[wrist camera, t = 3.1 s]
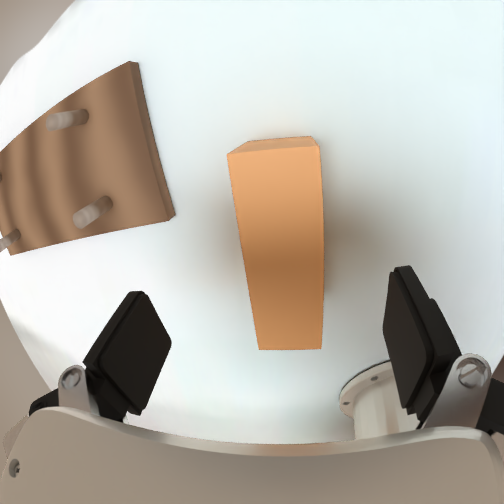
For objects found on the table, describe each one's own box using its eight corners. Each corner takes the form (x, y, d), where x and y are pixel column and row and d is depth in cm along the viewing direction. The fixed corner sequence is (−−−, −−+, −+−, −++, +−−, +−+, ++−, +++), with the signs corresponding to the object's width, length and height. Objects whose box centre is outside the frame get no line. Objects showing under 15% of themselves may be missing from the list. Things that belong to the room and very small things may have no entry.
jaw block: (310, 136, 16) (319, 146, 11) (317, 292, 21) (321, 348, 16) (248, 141, 17) (226, 154, 11) (268, 294, 22) (258, 349, 17)
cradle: (138, 62, 14) (97, 55, 10) (175, 214, 20) (145, 243, 16) (-12, 168, 20) (-38, 180, 16) (16, 251, 25) (-7, 269, 21)
